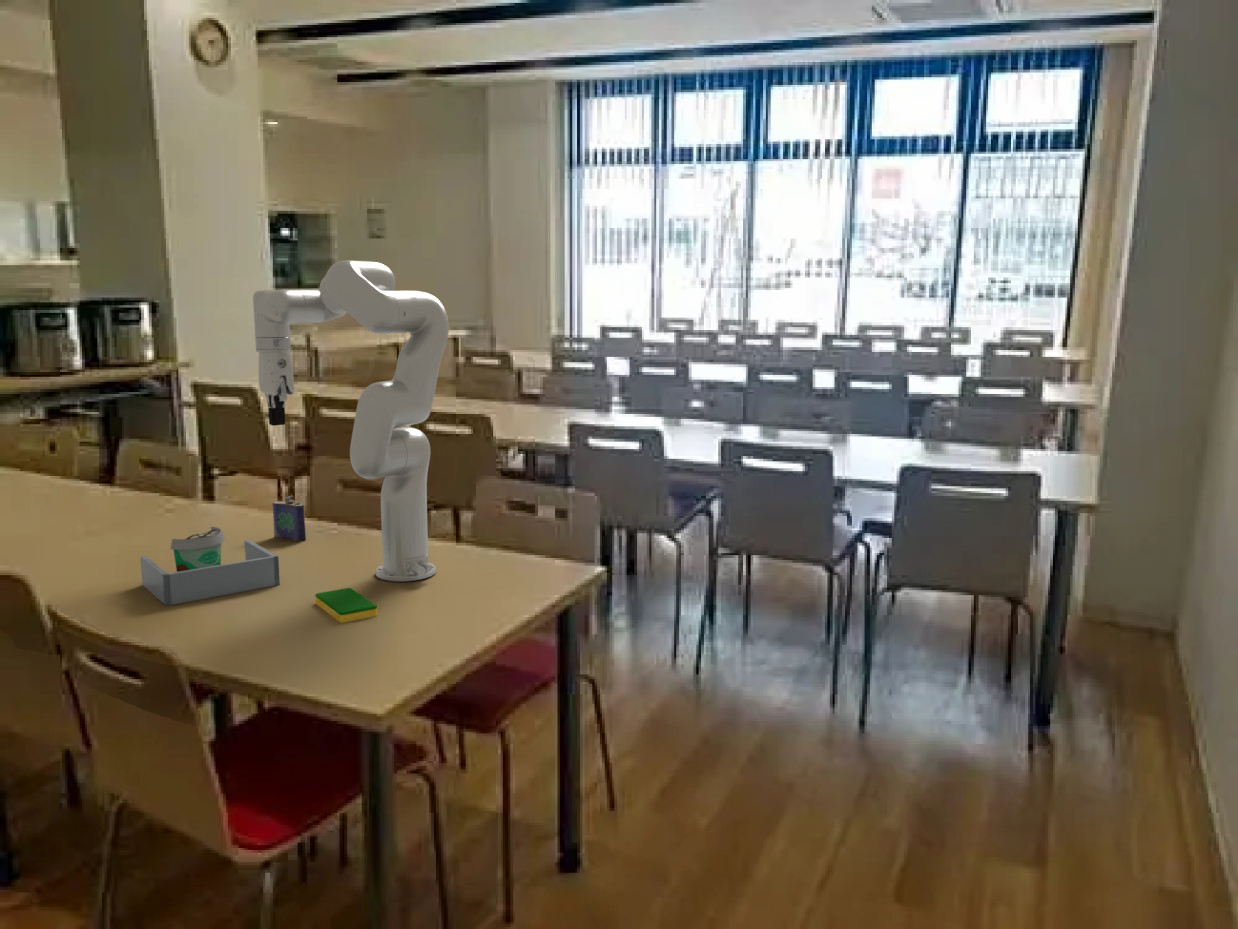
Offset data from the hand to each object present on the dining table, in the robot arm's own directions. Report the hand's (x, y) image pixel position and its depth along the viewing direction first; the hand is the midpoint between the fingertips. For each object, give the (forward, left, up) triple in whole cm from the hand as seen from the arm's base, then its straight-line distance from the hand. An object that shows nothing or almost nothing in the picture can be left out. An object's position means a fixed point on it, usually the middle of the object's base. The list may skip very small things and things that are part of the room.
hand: (277, 424), depth 223 cm
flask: (+6, -4, -29) cm, 30 cm away
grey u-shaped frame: (-20, +23, -29) cm, 42 cm away
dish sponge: (-52, +8, -30) cm, 60 cm away
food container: (-17, +23, -29) cm, 41 cm away
